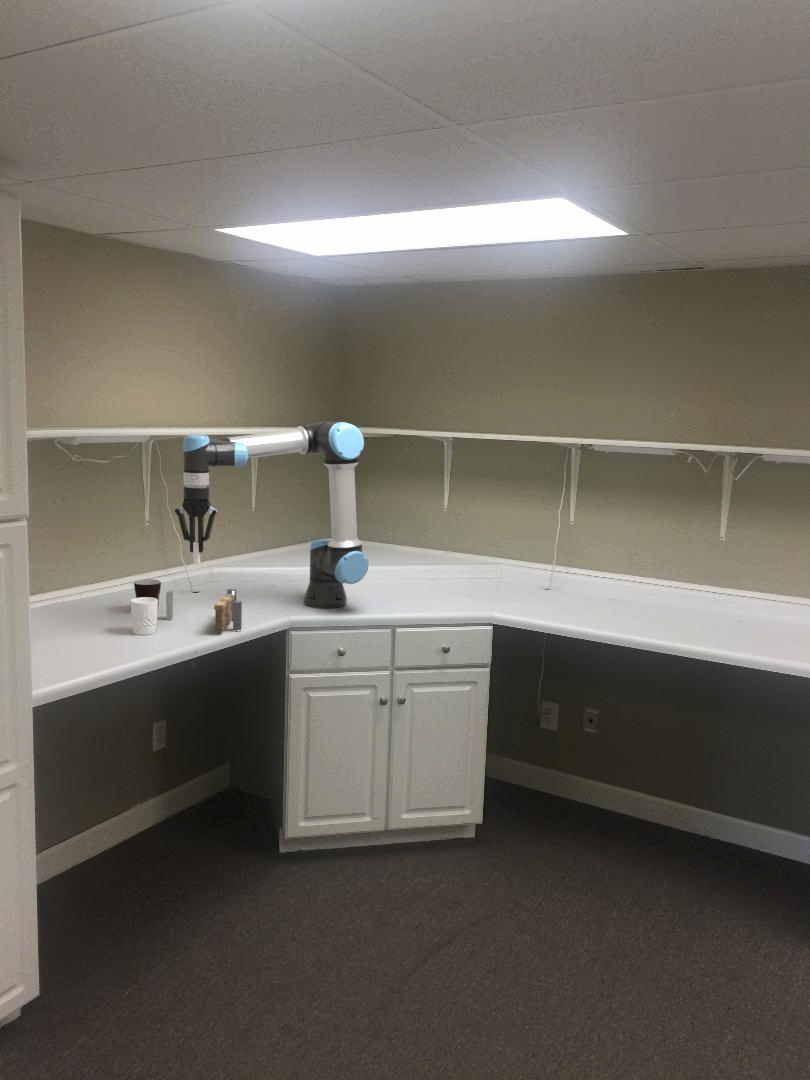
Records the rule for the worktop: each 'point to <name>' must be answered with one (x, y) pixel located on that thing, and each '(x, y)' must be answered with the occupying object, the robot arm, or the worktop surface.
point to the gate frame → (235, 608)
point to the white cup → (144, 615)
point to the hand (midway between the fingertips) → (196, 562)
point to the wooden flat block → (223, 612)
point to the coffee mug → (147, 588)
